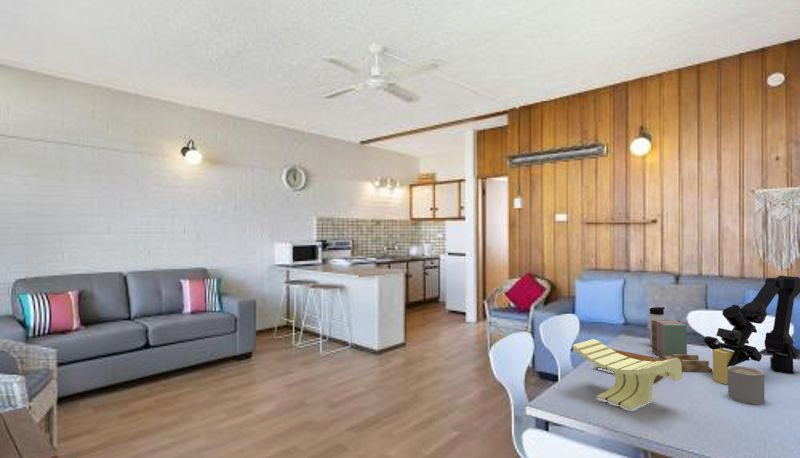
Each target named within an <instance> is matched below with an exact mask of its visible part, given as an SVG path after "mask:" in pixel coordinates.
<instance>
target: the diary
mask: <svg viewBox="0 0 800 458" xmlns="http://www.w3.org/2000/svg"><path fill="white" fill-rule="evenodd" d="M612 350H614V351H616V353H619V354H621V355H624V356H627V357H628V359H629V358H633V359H637V360H641V361H653V362H656V361H664V360H666V359H661V358H660V357H655V356H650V355H645V354H640V353H633V352H629V351H624V350H618V349H614V348H613V349H612ZM597 368H601V367H598V366H597ZM602 369H606V370H608V369H607V368H602ZM610 371H612V370H610ZM663 378H664V377H663V376H660V375H657V376H656V377H655V379H654V382H653V384H656V383H657V382H659V381H660V380H662V379H663Z"/></svg>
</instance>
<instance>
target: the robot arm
mask: <svg viewBox="0 0 800 458" xmlns="http://www.w3.org/2000/svg"><path fill="white" fill-rule="evenodd" d="M764 281H765V282H764V284H763V286H762V287H761V288H760V290H759V291H758V292H757V294H756V295H755V297H754V298H753V300H752V301H750V302H748V303H746V304H744V305H743V306H742V307H740V306H739V305H738V304H732V305H731V306H728V307H726V308H725V309H723V310H722V313H721V314H722V315H723V317H724V318H725V320H726V321H727V322H728V323H729V325H730V326H732V329H731V330H730V329H727V328H726V329H725V328H720V327H718V329H717V332H716V336H717V337H719V338H721V339H720V340H721V341H722V342H721V341H719V339H718V338H717V337H715V336H709V335H706V336H705V337H704V338H703V342H704V343H705V345H706V346H708V348H709V349H711V350H712V351H713V350H715V349H724V350H728V351H732V352H734V355H733V356H732V358H731V360H730V361H729V363H728V365H727V367H729V366H738V365H739V364H742V363H744V362H747V361H748V362H749V361H754V362H760V361H761V360H762V359H763V356H762V354H761V352H760V351H759V350H758V349H757V347H756V346H752V345H749V343H750V341H749V338H750V336H751V335H752V333H754V334H755V333H756V334H757V333H758V331H757V328H756V325H755V324H758V325H759V324H763V322H765V320H766V318H767V315H768V313H767V308H768V307H769V305H770V304H771V303H772V301H773V299H774V298H775V296H776V295H778V296H777V303H776V308H775V309H776V310H775V315H774V322H773V329H772V330H771V331H770V332H768V331H767V332H766V333H765V338H764V341H763V342H764V347H765V350H766V351H765V352H766V354H769V355H771V356H770V357H769V367H770V368H771V369H772V370H773V372H778V373H779V372H780V373H786V374H795V371H794V360H796V359H798V358H799V353H800V352H799V351H798V350H797V349H796V347H795V346H794V340H793V337H792V336H791V334H790V328H791V322H792V315H793V309H794V302H795V298H797V297H798V296H799V295H800V277H799V276H792V275H778V276H777V277H767V278H766V279H765V280H764Z"/></svg>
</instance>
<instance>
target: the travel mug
mask: <svg viewBox="0 0 800 458" xmlns="http://www.w3.org/2000/svg"><path fill="white" fill-rule="evenodd" d="M651 320H665V307H661V306H659V307H658V306H657V307H656V306H654V307H650V308H649V340H650V341H649V345H650V347H651V348H652V328H651Z"/></svg>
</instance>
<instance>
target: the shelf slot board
mask: <svg viewBox="0 0 800 458" xmlns="http://www.w3.org/2000/svg"><path fill="white" fill-rule="evenodd" d="M656 321H678V322H680V323H681V321H680V320H678V319H677V320H676V319H675V320H673V319H672V320H671V319H664V320H651V328H652V347H651V353H653V354H654V355H656V356H657V357H658V356H659V357H658V358H662V359H666V360H671V359H673V358H679V359H680V361H681V365H682V373H711V374H713V367H712V368H711V367H710V361H709V360H702V359H701V360H699V355H698V354H688V353H687V355H684V354H672V356H665V355H664V354H662V353H661V352H659V351H658V350H657V341H656Z"/></svg>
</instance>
